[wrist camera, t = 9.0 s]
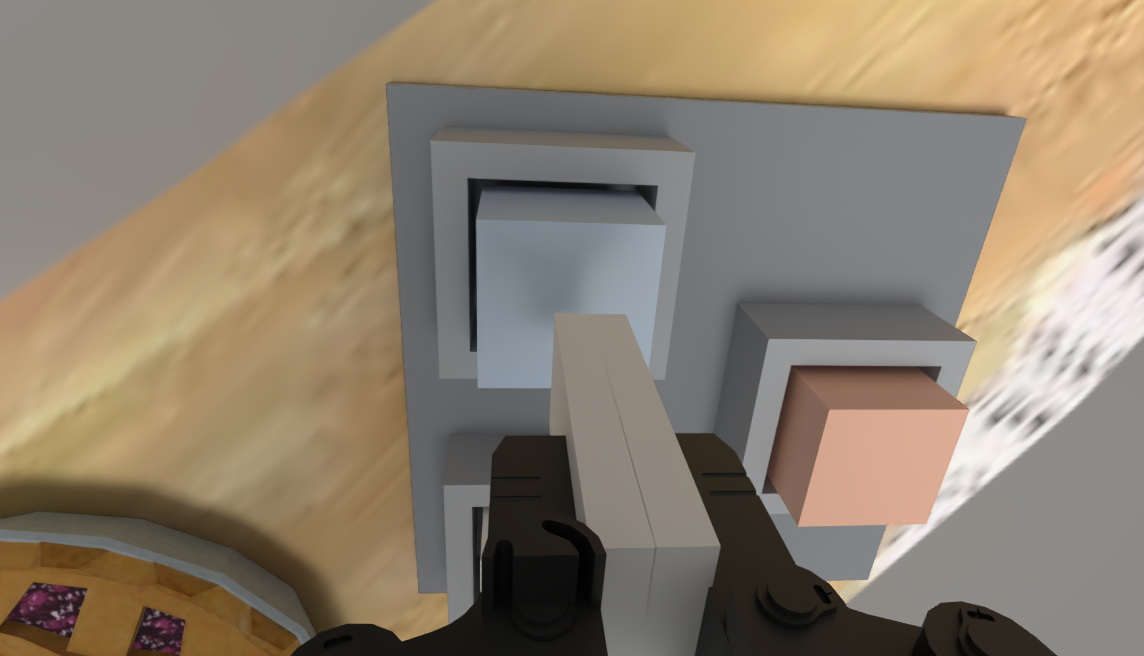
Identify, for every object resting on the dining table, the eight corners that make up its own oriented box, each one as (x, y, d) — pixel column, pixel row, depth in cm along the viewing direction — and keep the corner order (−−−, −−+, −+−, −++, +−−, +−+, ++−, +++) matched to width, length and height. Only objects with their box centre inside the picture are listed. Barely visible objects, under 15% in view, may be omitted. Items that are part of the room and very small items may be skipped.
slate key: (483, 327, 21) (477, 388, 17) (482, 185, 19) (476, 219, 15) (623, 330, 21) (646, 388, 18) (637, 191, 19) (666, 225, 16)
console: (421, 576, 30) (408, 655, 26) (391, 82, 20) (364, 91, 17) (857, 564, 32) (904, 635, 28) (1006, 115, 23) (1106, 130, 19)
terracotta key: (756, 457, 25) (797, 526, 22) (779, 352, 23) (829, 409, 20) (867, 456, 26) (926, 524, 22) (899, 353, 24) (969, 409, 20)
